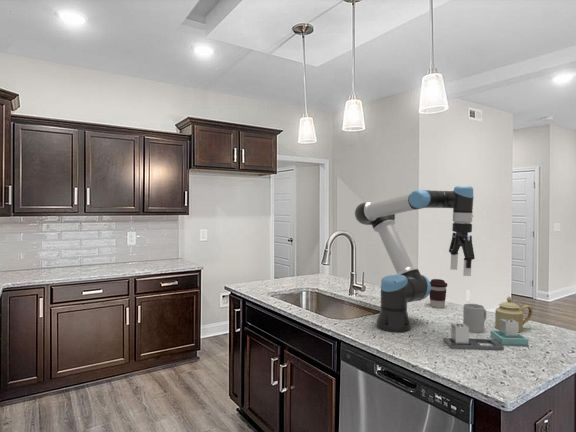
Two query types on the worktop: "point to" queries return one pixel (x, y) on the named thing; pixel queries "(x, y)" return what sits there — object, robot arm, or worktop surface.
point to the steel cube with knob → (509, 328)
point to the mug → (474, 317)
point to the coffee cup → (437, 293)
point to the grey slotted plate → (475, 344)
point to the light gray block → (459, 334)
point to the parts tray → (509, 339)
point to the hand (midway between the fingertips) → (460, 272)
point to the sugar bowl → (511, 313)
